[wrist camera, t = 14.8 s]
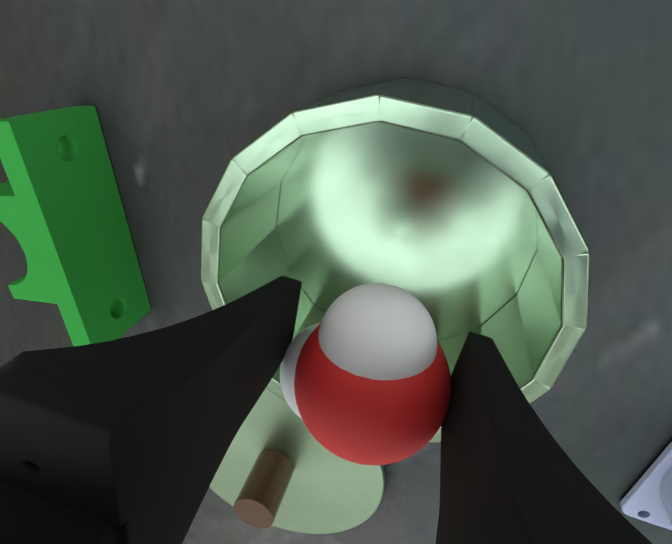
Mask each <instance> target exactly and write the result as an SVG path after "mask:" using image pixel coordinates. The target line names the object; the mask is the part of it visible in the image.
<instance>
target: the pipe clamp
mask: <svg viewBox="0 0 672 544" xmlns="http://www.w3.org/2000/svg"><path fill="white" fill-rule="evenodd" d="M57 147H58V152H57ZM0 159H1V161H2V164H3V166H4V169H5V171H6V174H7V177H8V179H9V181H8V182H4V183H1V184H0V222H1V223H3V224H4V225H5V226H6V227H7V228H8V229H9V230H10V231H11V232H12V233H13V234H14V236H15V237H16V238H17V240H18V241H19V243H20V245H21V246H22V248H23V251H24V253H25V256H26V259H27V265H28V270H27V275H25V276H23V277H22V278H20V279H18V280H16V281H14V282H12V283H10V284H9V285H8V286H9V289H10V291H11V293H12V295H13V298H15V299H23V300H31V301H38V302H46V303H54V304H57V305H58V307H59V310H60V312H61V315H62V317H63V320H64V323H65V325H66V328H67V330H68V333H69V335H70V338H71V340H72V343H73V346H81V345H88V344H94V343H100V342H106V341H111V340H116V339H118V338H119V337H120V336H122V335H123V334H124V333H125V332H126V331H127V330H129V329H130V328H131V327H132V326H133V325H134V324H136V323H137V322H138V321H139V320H140V319H141V318H143V317H144V316H145V315H146V314H147V313H148V312H150V311H151V306H150V303H149V299H148V296H147V292H146V288H145V285H144V281H143V277H142V274H141V270H140V267H139V263H138V259H137V256H136V252H135V249H134V245H133V241H132V238H131V234H130V230H129V227H128V223H127V220H126V216H125V212H124V209H123V205H122V202H121V198H120V194H119V191H118V187H117V184H116V180H115V176H114V173H113V169H112V165H111V162H110V158H109V155H108V151H107V147H106V144H105V140H104V137H103V133H102V129H101V126H100V122H99V119H98V115H97V111H96V108H95V106H71V107H66V108H60V109H54V110H49V111H43V112H37V113H32V114H26V115H20V116H14V117H9V118H3V119H0Z"/></svg>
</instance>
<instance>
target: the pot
mask: <svg viewBox="0 0 672 544" xmlns="http://www.w3.org/2000/svg"><path fill="white" fill-rule="evenodd" d="M589 265H590V253H589V248H588V246H587V244H586V242H585V240H584V238H583V236H582V234H581V232H580V230H579V228H578V226H577V224H576V222H575V220H574V218H573V216H572V214H571V212H570V210H569V208H568V206H567V204H566V202H565V200H564V198H563V196H562V194H561V192H560V190H559V188H558V186H557V184H556V182H555V180H554V178H553V176H552V174H551V173H550V171H549V169H548V168H547V166H546V164H545V163H544V161H543V159H542V158H541V156H540V154H539V152H538V151H537V149H536V147H535V146H534V144H533V142H532V141H531V139H530V137H529V136H528V135H527V133H526V132H525V131H523V130H522V129H521V128H519V127H518V126H517V125H515V124H514V123H513V122H512V121H510V120H509V119H508V118H507V117H506V116H504V115H503V114H502V113H501V112H500V111H498V110H497V109H495V108H494V107H492V106H491V105H489V104H488V103H487V102H485V101H484V100H483V99H481V98H480V97H479V96H477V95H476V94H475V93H472V92H470V91H465V90H461V89H456V88H453V87H449V86H446V85H442V84H438V83H432V82H425V81H419V80H415V79H410V78H400V79H395V80H391V81H386V82H381V83H374V84H371V85H367V86H363V87H358V88H353V89H349V90H344V91H341V92H338V93H336V94H334V95H331V96H329V97H326V98H324V99H322V100H319V101H317V102H315V103H312V104H310V105H307V106H305V107H303V108H300V109H298V110H295V111H293V112H291V113H290V114H288V115H287V116H286V117H284V118H283V119H282V120H280V121H279V122H278V123H276V124H275V125H274V126H273V127H271V128H270V129H269V130H267V131H266V132H265V133H263V134H262V135H261V136H260V137H258V138H257V139H256V140H254V141H253V142H252V143H250V144H249V145H248V146H246V147H245V148H244V149H243V150H241V151H240V152H239V153H237V154H236V155H235V156H233V158H232V159H231V160H230V162H229V164H228V166H227V168H226V170H225V172H224V174H223V176H222V178H221V180H220V182H219V184H218V187H217V189H216V191H215V193H214V195H213V197H212V199H211V201H210V203H209V205H208V207H207V209H206V211H205V213H204V215H203V217H202V241H201V281H202V285H203V288H204V290H205V293H206V296H207V298H208V301H209V304H210V306H211V309H212V310H214V309H216V308H219V307H221V306H223V305H225V304H228V303H230V302H232V301H234V300H236V299H238V298H240V297H242V296H244V295H246V294H248V293H250V292H252V291H254V290H255V289H257V288H259V287H261V286H263V285H265V284H267V283H269V282H270V281H272V280H274V279H276V278H278V277H280V276H285V277H289V278H292V279H295V280H299V281H302V286H301V292H300V298H299V305H298V311H297V317H296V323H295V330H294V336H293V339H294V338H295V337H296V336H297V335H298V334H299V333H300V332H301V331H303V330H304V329H306V328H308V327H309V326H312V325H314V324H317V323H321V322H322V319H323V317H324V315H325V313H326V311H327V310H328V308H329V307H330V305H331V304H332V303H333V302H334V301H335V300H336V299H337V298H338V297H339V296H341V295H342V294H343V293H345V292H346V291H348V290H350V289H352V288H354V287H357V286H360V285H364V284H369V283H384V284H390V285H394V286H397V287H399V288H401V289H404V290H405V291H407V292H409V293H411V294H412V295H413V296H414V297H416V298H417V299H418V300H419V301H420V302H421V303H422V304H423V305H424V307H425V308H426V310H427V311H428V313H429V314H430V316H431V318H432V320H433V323H434V326H435V329H436V333H437V340H438V342H439V344H440V346H441V347H442V349H443V351H444V354H445V356H446V359H447V362H448V366H449V369H450V376H451V374H452V371H453V369H454V366H455V364H456V362H457V359H458V357H459V354H460V352H461V350H462V347H463V345H464V342H465V340H466V338H467V335H468V333H469V331H470V332H473V333H477V334H480V335H483V336H487V337H490V338H492V339H493V341H494V342H495V344H496V346H497V348H498V350H499V352H500V353H501V355H502V357H503V359H504V361H505V363H506V365H507V366H508V368H509V370H510V372H511V374H512V376H513V377H514V379H515V381H516V383H517V384H518V386H519V388H520V389H521V391H522V393H523V394H524V396H525V397H526V399H527V401H528V402H529V404H531V403H532V402H533V401H535V400H536V399H538V398H539V397H541V396H542V395H544V394H545V393H546V392H548V391H549V390H550V389H551V388H552V387H553V386H554V384H555V382H556V381H557V379H558V377H559V376H560V374H561V372H562V370H563V369H564V367H565V365H566V364H567V362H568V360H569V358H570V357H571V355H572V353H573V352H574V350H575V348H576V346H577V345H578V343H579V341H580V340H581V338H582V336H583V334H584V333H585V331H586V327H587V325H588V296H589ZM293 339H292V340H293ZM280 367H281V365H280ZM280 367H279V368H278V370H277V371H276V373H275V375H274V376H273V378H272V379H271V381H270V382H269V384H268V385H267V387H266V389H268V390H269V391H271V392H272V393H274V394H275V395H277V396H278V397H280V398H281V399H282V400H284V401H285V402H286V400H285V397H284V395H283V392H282V389H281V384H280ZM433 442H434V443H437V442H441V427H440V428H439V430H438V431H437V433H436V434H435V436H434V437H433V438H432V439H431V440H430V441H429V442H428V443H433Z"/></svg>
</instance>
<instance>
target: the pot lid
mask: <svg viewBox="0 0 672 544" xmlns="http://www.w3.org/2000/svg"><path fill="white" fill-rule="evenodd" d="M384 486H385V472H384V465H362V464H357V463H353V462H350V461H347V460H345V459H342V458H340V457H338V456H336V455H334V454H333V453H331V452H330V451H329V450H327V449H326V448H325V447H323V446H322V445H321V444H320V443H319V442H318V441H317V440H316V439H315V438H314V436H313V435H312V434H311V433H310V431H309V430H308V428H307V427H306V425H305V424H304V422H303V420H302V419H301V418H300V417H299V416H298V415H296V414H295V413H294V411H293V410H292V409H291V408H290V406H289V405H288V403H287V402H285V401H284V400H282V399H281V398H280V397H278V396H277V395H275V394H274V393H272V392H271V391H269V390H268V389H265V390H264V392H263V393H262V395H261V396H260V398H259V399H258V401H257V402H256V404H255V405H254V407H253V408H252V410H251V412H250V413H249V415H248V416H247V418H246V419H245V421H244V422H243V424H242V425H241V427H240V429H239V430H238V432H237V434H236V435H235V437H234V439H233V441H232V443H231V445H230V446H229V448H228V450H227V452H226V454H225V456H224V458H223V460H222V462H221V464H220V466H219V468H218V470H217V472H216V474H215V476H214V478H213V480H212V482H211V484H210V486H209V487H210V488H211V489H212V490H213V491H214V492H215V493H216V494H217V495H219V496H220V497H221V498H222V499H223V500H225V501H226V502H228V503H229V504H230V505H232V506H233V507H234V511H235V513H236V515H237V516H238V517H239V518H240V519H241V520H242V521H244V522H245V523H247V524H249V525H251V526H254V527H258V528H267V527H269V526H271V525H272V526H275V527H278V528H281V529H285V530H289V531H294V532H300V533H309V534H329V533H337V532H341V531H345V530H348V529H351V528H354V527H356V526H358V525H359V524H361V523H363V522H364V521H366V520H367V519H368V518H369V517H370V516H371V515H372V514H373V513H374V512H375V510H376V509H377V508H378V506H379V504H380V502H381V499H382V495H383V491H384Z"/></svg>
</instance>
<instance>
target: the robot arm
mask: <svg viewBox="0 0 672 544" xmlns="http://www.w3.org/2000/svg"><path fill="white" fill-rule="evenodd" d="M301 286H302V281H299V280H295V279H292V278H289V277H285V276H280V277H278V278H276V279H274V280H272V281H270V282H269V283H267V284H265V285H263V286H261V287H259V288H257V289H255V290H254V291H252V292H250V293H248V294H246V295H244V296H242V297H240V298H238V299H236V300H234V301H232V302H230V303H228V304H225V305H223V306H221V307H219V308H216V309H214V310H212V311H210V312H207V313H205V314H203V315H200V316H198V317H195V318H192V319H189V320H187V321H184V322H181V323H178V324H175V325H172V326H169V327H165V328H162V329H158V330H154V331H150V332H146V333H142V334H138V335H135V336H131V337H126V338H122V339H116V340H111V341H106V342H100V343H94V344H88V345H81V346H74V347H65V348H56V349H46V350H37V351H24V352H22V353H20V354H19V355H17V356H16V357H14V358H13V359H12V360H10V361H9V362H7V363H6V364H4V365H3V366H2V367H0V544H182V542H183V540H184V538H185V536H186V534H187V532H188V530H189V528H190V525H191V523H192V521H193V519H194V517H195V515H196V513H197V511H198V509H199V506H200V504H201V502H202V500H203V498H204V496H205V494H206V492H207V490H208V488H209V486H210V484H211V482H212V480H213V478H214V476H215V474H216V472H217V470H218V468H219V466H220V464H221V462H222V460H223V458H224V456H225V454H226V452H227V450H228V448H229V446H230V445H231V443H232V441H233V439H234V437H235V435H236V434H237V432H238V430H239V429H240V427H241V425H242V424H243V422H244V421H245V419H246V418H247V416H248V415H249V413H250V412H251V410H252V408H253V407H254V405H255V404H256V402H257V401H258V399H259V398H260V396H261V395H262V393H263V392H264V390H265V389H266V387H267V385H268V384H269V382H270V381H271V379H272V378H273V376H274V375H275V373H276V371H277V370H278V368H279V367H280V365H281V363H282V361H283V358H284V355H285V353H286V350H287V348H288V346H289V344H290V343H291V341H292V339H293V336H294V330H295V323H296V317H297V311H298V305H299V298H300V292H301ZM450 377H451V395H450V401H449V406H448V410H447V413H446V416H445V419H444V421H443V423H442V425H441V472H440V509H439V521H438V529H437V538H436V544H652V543H651V542H650V541H649V540H648V539H647V538H646V537H645V536H643V535H642V534H641V533H640V532H639V531H638V530H637V529H636V528H635V527H634V526H633V525H632V524H631V523H630V522H629V521H627V520H626V519H625V518H624V517H623V516H622V515H621V514H620V513H619V512H618V511H617V510H616V509H615V508H614V507H613V506H612V505H611V504H610V503H609V502H608V501H607V500H606V498H605V497H604V496H603V495H602V494H601V493H600V492H599V491H598V490H597V489H596V488H595V487H594V486H593V484H592V483H591V482H590V481H589V480H588V479H587V478H586V477H585V476H584V475H583V474H582V472H581V471H580V470H579V469H578V468H577V467H576V465H575V464H574V463H573V462H572V461H571V459H570V458H569V457H568V456H567V455H566V453H565V452H564V451H563V450H562V448H561V447H560V446H559V445H558V443H557V442H556V441H555V440H554V438H553V437H552V436H551V434H550V433H549V431H548V430H547V429H546V427H545V426H544V424H543V423H542V422H541V420H540V419H539V417H538V416H537V414H536V413H535V411H534V410H533V408H532V407H531V405H530V404H529V402H528V401H527V399H526V397H525V396H524V394H523V393H522V391H521V389H520V388H519V386H518V384H517V383H516V381H515V379H514V377H513V376H512V374H511V372H510V370H509V368H508V366H507V365H506V363H505V361H504V359H503V357H502V355H501V353H500V352H499V350H498V348H497V346H496V344H495V342H494V341H493V339H492V338H490V337H487V336H483V335H480V334H477V333H473V332H470V331H469V333H468V335H467V338H466V340H465V342H464V345H463V347H462V350H461V352H460V354H459V357H458V359H457V362H456V364H455V366H454V369H453V371H452V374H451V376H450ZM620 506H621V509H622V512H623V513H624V514H626V515H628V516H631V517H634V518H637V519H640V520H643V521H646V522H649V523H652V524H654V525H657V526H660V527H663V528H666V529H669V530H672V441H671V443H670V444H669V445H668V446H667V447H666V448H665V450H664V451H663V452H662V453H661V454H660V456H659V457H658V458H657V459H656V460H655V461H654V463H653V464H652V465H651V466H650V467H649V469H648V470H647V471H646V472H645V473H644V475H643V476H642V477H641V478H640V479H639V480H638V482H637V483H636V484H635V485H634V486H633V488H632V489H631V490H630V491H629V492H628V493H627V495H626V496H625V497H624V498H623V499H622V501H621V502H620Z"/></svg>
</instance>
